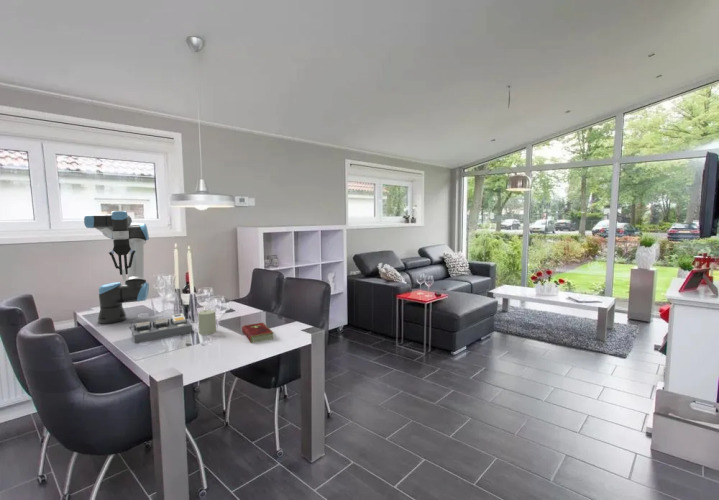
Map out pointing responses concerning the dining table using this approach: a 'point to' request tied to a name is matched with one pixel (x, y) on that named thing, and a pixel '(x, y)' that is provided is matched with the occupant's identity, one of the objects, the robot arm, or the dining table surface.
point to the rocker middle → (161, 321)
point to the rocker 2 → (178, 318)
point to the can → (207, 322)
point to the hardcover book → (257, 332)
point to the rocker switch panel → (160, 330)
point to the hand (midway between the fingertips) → (124, 280)
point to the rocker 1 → (143, 324)
